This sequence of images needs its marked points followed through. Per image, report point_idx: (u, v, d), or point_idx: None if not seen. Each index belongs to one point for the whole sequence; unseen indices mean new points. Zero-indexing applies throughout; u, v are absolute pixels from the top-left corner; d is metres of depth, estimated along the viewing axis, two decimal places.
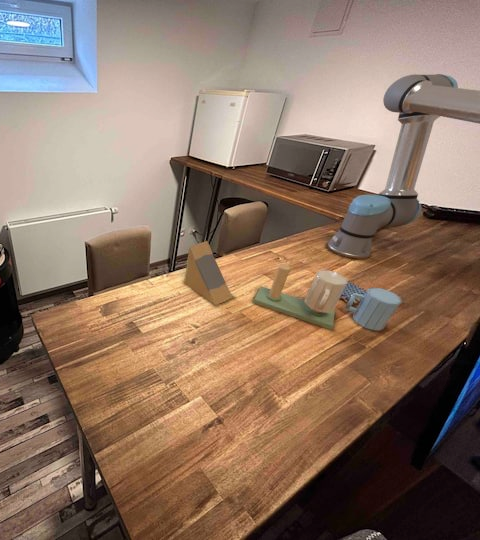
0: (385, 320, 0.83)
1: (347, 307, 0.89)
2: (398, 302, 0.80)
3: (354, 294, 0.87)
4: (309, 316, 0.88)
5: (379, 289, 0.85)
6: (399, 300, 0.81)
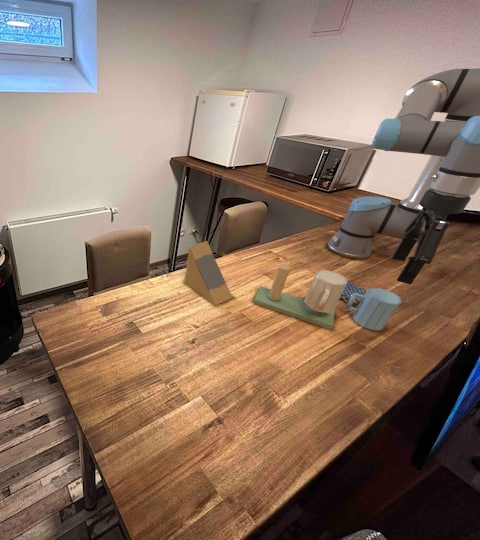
0: (385, 320, 0.83)
1: (347, 307, 0.89)
2: (398, 302, 0.80)
3: (354, 294, 0.87)
4: (309, 316, 0.88)
5: (379, 289, 0.85)
6: (399, 300, 0.81)
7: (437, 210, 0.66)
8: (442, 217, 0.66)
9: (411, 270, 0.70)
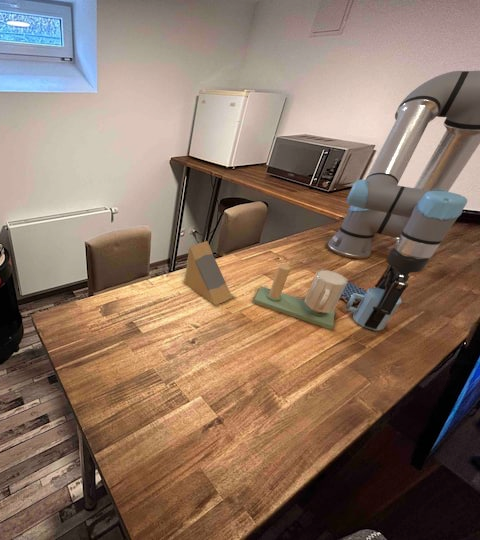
0: (385, 320, 0.83)
1: (347, 307, 0.89)
2: (398, 302, 0.80)
3: (354, 294, 0.87)
4: (309, 316, 0.88)
5: (379, 289, 0.85)
6: (399, 300, 0.81)
7: (400, 268, 0.75)
8: (404, 275, 0.75)
9: (375, 318, 0.81)
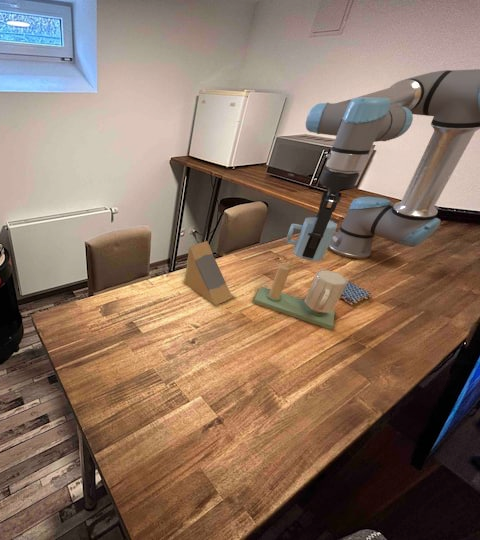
0: (322, 248, 0.79)
1: (287, 240, 0.85)
2: (333, 227, 0.76)
3: (292, 224, 0.83)
4: (309, 316, 0.88)
5: None
6: (335, 225, 0.77)
7: (330, 186, 0.71)
8: (335, 193, 0.71)
9: (310, 245, 0.78)
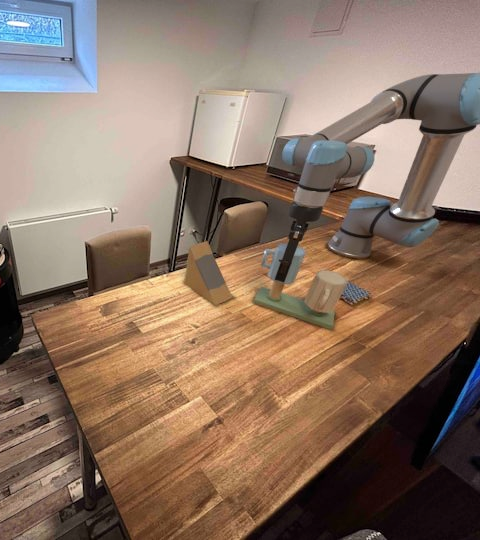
0: (292, 273, 0.86)
1: (262, 264, 0.92)
2: (301, 254, 0.83)
3: (266, 250, 0.89)
4: (309, 316, 0.88)
5: None
6: (303, 253, 0.84)
7: (297, 219, 0.78)
8: (301, 225, 0.78)
9: (281, 270, 0.84)
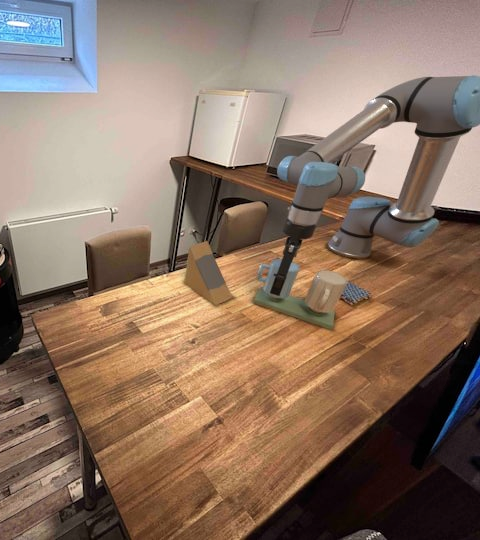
0: (286, 288, 0.89)
1: (257, 278, 0.95)
2: (295, 270, 0.86)
3: (261, 265, 0.92)
4: (309, 316, 0.88)
5: None
6: (297, 268, 0.87)
7: (291, 236, 0.81)
8: (295, 242, 0.81)
9: (276, 284, 0.84)
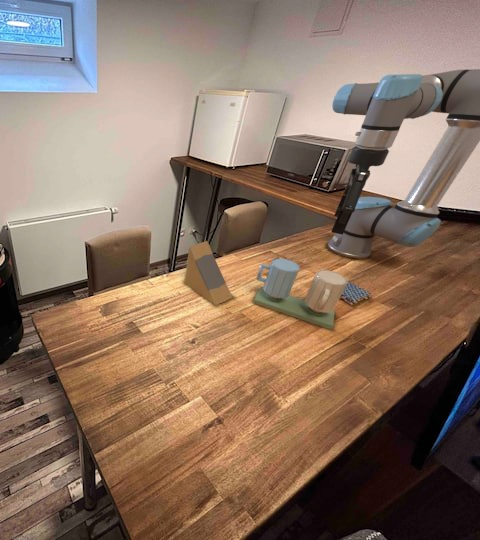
0: (286, 288, 0.89)
1: (257, 278, 0.95)
2: (295, 270, 0.86)
3: (261, 265, 0.92)
4: (309, 316, 0.88)
5: (283, 259, 0.91)
6: (297, 268, 0.87)
7: (360, 163, 0.73)
8: (364, 170, 0.73)
9: (340, 220, 0.77)
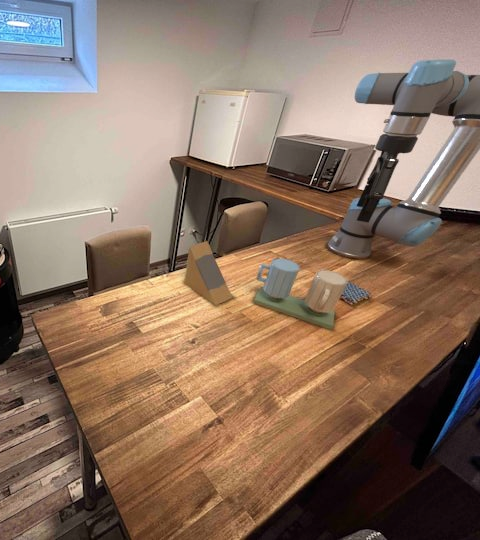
0: (286, 288, 0.89)
1: (257, 278, 0.95)
2: (295, 270, 0.86)
3: (261, 265, 0.92)
4: (309, 316, 0.88)
5: (283, 259, 0.91)
6: (297, 268, 0.87)
7: (389, 150, 0.73)
8: (393, 157, 0.73)
9: (367, 208, 0.77)
